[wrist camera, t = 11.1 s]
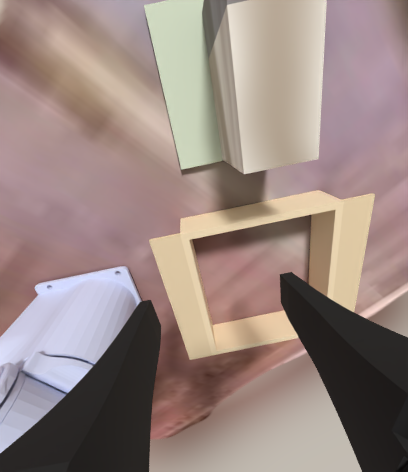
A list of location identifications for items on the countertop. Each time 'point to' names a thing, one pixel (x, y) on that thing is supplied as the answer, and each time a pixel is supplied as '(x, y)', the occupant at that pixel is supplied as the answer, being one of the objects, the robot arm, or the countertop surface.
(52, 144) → the countertop surface
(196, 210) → the countertop surface
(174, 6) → the mat
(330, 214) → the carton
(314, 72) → the box
